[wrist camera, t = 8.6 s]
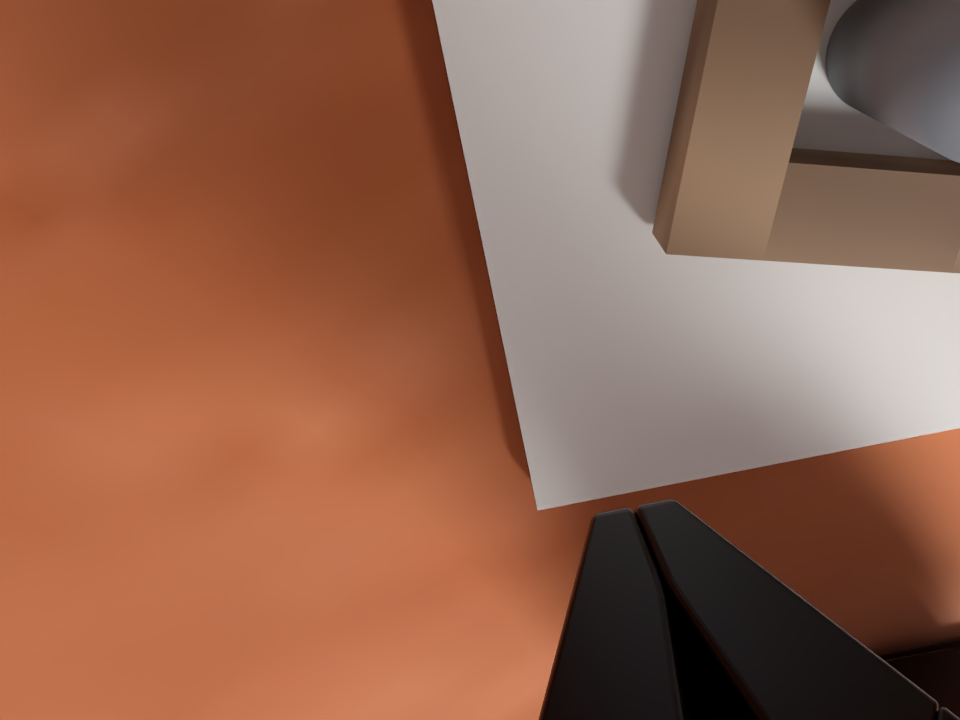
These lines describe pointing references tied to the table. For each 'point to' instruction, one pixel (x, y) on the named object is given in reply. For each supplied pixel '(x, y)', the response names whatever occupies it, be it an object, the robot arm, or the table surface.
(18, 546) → the table surface
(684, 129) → the block
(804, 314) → the board
